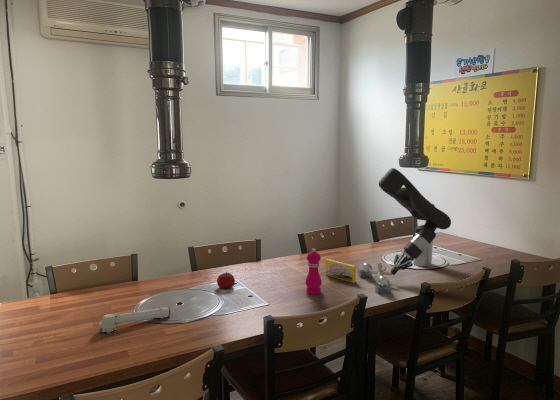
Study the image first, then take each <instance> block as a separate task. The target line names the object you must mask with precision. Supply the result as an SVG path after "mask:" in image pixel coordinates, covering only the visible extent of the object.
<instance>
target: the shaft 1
mask: <svg viewBox="0 0 560 400" xmlns="http://www.w3.org/2000/svg"><path fill="white" fill-rule="evenodd" d="M359 267H360V269H357V271H358V272H357V274H358V277H359V278H363V279H364V278H371V277H372V278H373V274H370V270H373V266H372V265H370V263H369V262H367V261H366V260H365V261H364V260H363V261H361V262H360V264H359Z"/></svg>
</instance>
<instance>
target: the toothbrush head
mask: <svg viewBox="0 0 560 400" xmlns="http://www.w3.org/2000/svg"><path fill="white" fill-rule="evenodd" d="M171 314H172V313H171V308H170V307H169V306H167V307H165V306H163V307H161V306H159V307H158V308H151V309H145V310H138V311H133V312H126V313H120V314H112V313H108V314H107V313H106V314H105V315H103V316H102V319H101V322H99V324H98V328H99V332H110V331H113V330H115V329H116V328H118V326H119V324H124V323H125V324H126V323H132V322H141V321H143V322H144V321H149V320H148V319H152V320H155V319H154V318H160V317H161V319H163V318H162V317H165V316H170V317H171Z"/></svg>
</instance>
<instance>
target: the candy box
mask: <svg viewBox="0 0 560 400" xmlns="http://www.w3.org/2000/svg"><path fill="white" fill-rule="evenodd" d="M325 275H326V276H328V277H332V278H335V279H339V280H342V281H345V282H346V281H347V282H349V283H353V284H354V283H355V282H356V265H354V264H350V263H345V262H342V261H337V260H334V259H330V258H327V259H325Z"/></svg>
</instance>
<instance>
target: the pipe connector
mask: <svg viewBox="0 0 560 400" xmlns="http://www.w3.org/2000/svg"><path fill="white" fill-rule="evenodd" d="M377 269H378V270H376V269H372V270H370V274H372V275H375V276H374V279H375V278H376V276H377V275H378V274H382V275H383V276H393V275H392V272H391V271H390V270H389V271H387V267H386V266H383V263H382V261H377Z"/></svg>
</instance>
